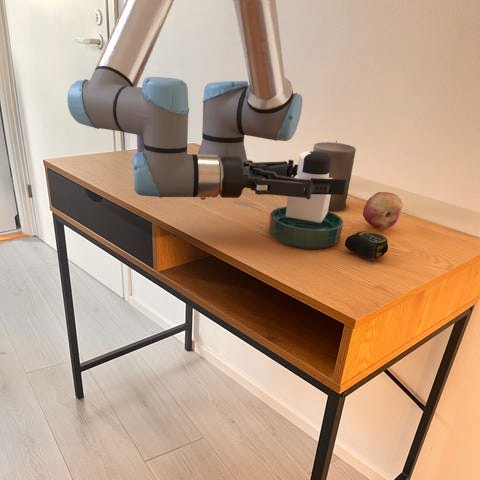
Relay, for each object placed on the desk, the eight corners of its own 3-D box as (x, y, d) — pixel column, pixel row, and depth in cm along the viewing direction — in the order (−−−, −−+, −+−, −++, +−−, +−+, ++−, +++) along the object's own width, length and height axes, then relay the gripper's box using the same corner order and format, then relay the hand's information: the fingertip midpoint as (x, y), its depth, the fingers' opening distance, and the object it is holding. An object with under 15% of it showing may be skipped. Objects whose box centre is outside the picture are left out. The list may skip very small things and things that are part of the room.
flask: (144, 164, 140) (143, 124, 135) (134, 162, 140) (133, 123, 135) (154, 157, 148) (153, 119, 143) (144, 156, 148) (143, 118, 143)
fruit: (359, 231, 104) (366, 194, 100) (361, 220, 111) (368, 185, 107) (396, 237, 103) (405, 200, 99) (396, 226, 109) (405, 190, 105)
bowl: (289, 219, 108) (292, 201, 106) (350, 236, 102) (354, 217, 100) (255, 236, 97) (257, 217, 95) (320, 256, 91) (324, 236, 89)
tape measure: (341, 251, 94) (344, 233, 92) (365, 245, 98) (369, 227, 96) (367, 265, 89) (371, 246, 87) (392, 258, 93) (397, 239, 91)
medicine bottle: (327, 213, 99) (338, 152, 93) (321, 223, 93) (331, 159, 87) (293, 207, 101) (301, 146, 95) (284, 217, 95) (292, 153, 89)
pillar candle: (353, 208, 118) (366, 144, 110) (322, 213, 113) (333, 145, 106) (327, 197, 125) (338, 135, 117) (297, 200, 120) (305, 136, 113)
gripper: (209, 180, 101) (312, 183, 106) (228, 216, 82) (352, 217, 87) (211, 142, 97) (318, 146, 102) (231, 171, 79) (361, 174, 83)
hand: (333, 179), depth 94 cm, fingers closed on medicine bottle, 9 cm apart
